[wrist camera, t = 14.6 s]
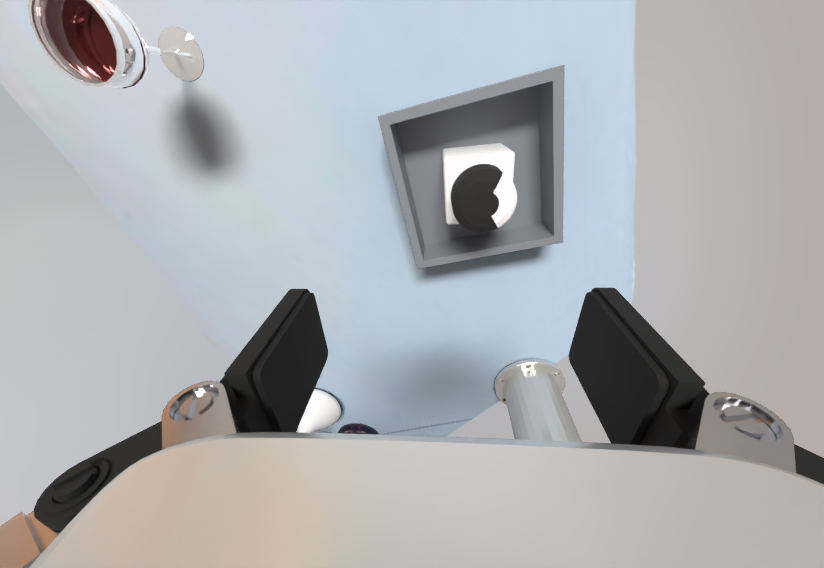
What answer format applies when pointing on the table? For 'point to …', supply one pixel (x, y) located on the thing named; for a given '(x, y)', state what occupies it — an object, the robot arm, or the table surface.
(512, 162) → the medicine bottle
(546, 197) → the bin
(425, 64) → the table surface
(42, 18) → the wineglass
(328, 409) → the flower in vase
